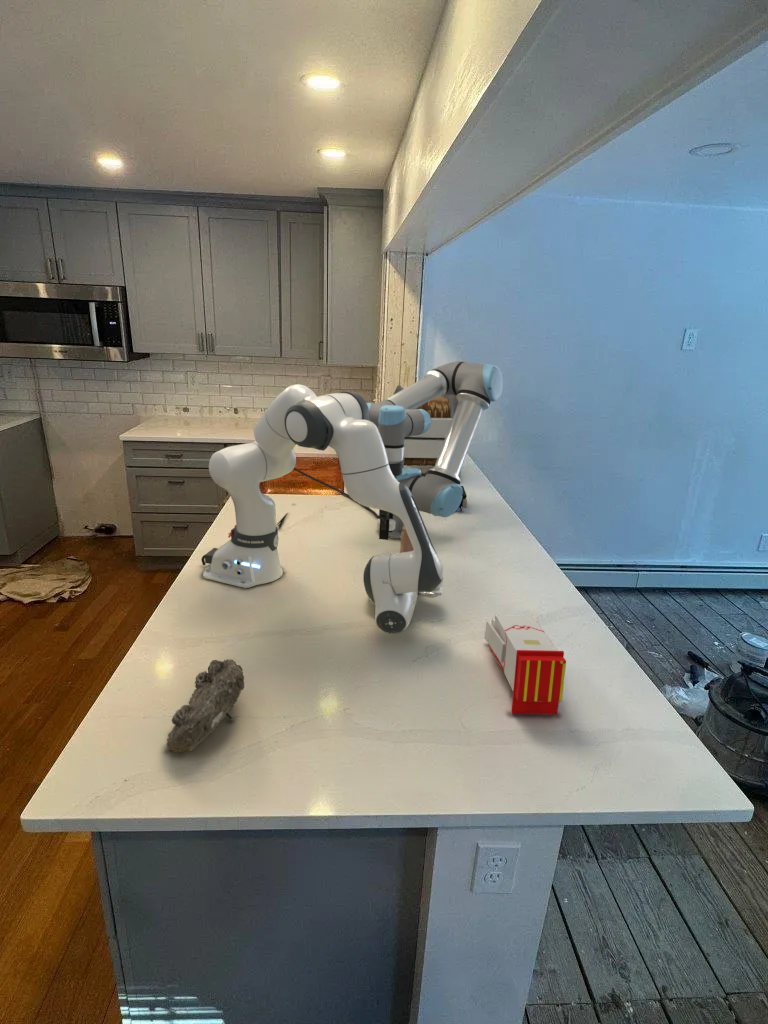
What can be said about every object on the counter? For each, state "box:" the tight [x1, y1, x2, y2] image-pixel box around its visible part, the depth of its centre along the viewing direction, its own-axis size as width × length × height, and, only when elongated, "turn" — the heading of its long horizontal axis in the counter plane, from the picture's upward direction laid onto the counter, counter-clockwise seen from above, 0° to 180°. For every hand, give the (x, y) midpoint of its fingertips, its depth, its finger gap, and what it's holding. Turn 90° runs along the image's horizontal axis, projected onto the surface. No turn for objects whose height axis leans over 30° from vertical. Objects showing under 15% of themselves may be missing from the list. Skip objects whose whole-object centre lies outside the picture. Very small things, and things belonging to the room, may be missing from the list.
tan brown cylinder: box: [399, 526, 414, 553], centre depth 156 cm, size 5×5×19 cm
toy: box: [484, 614, 567, 716], centre depth 124 cm, size 12×13×30 cm
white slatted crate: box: [392, 384, 462, 480], centre depth 268 cm, size 34×33×41 cm
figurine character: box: [457, 485, 468, 512], centre depth 228 cm, size 7×8×15 cm
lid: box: [375, 518, 396, 531], centre depth 169 cm, size 6×6×2 cm
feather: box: [276, 513, 288, 529], centre depth 211 cm, size 2×28×2 cm
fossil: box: [166, 658, 245, 754], centre depth 106 cm, size 22×10×15 cm
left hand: (408, 568), depth 158 cm, fingers closed on tan brown cylinder, 5 cm apart
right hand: (385, 535), depth 171 cm, fingers closed on lid, 6 cm apart
